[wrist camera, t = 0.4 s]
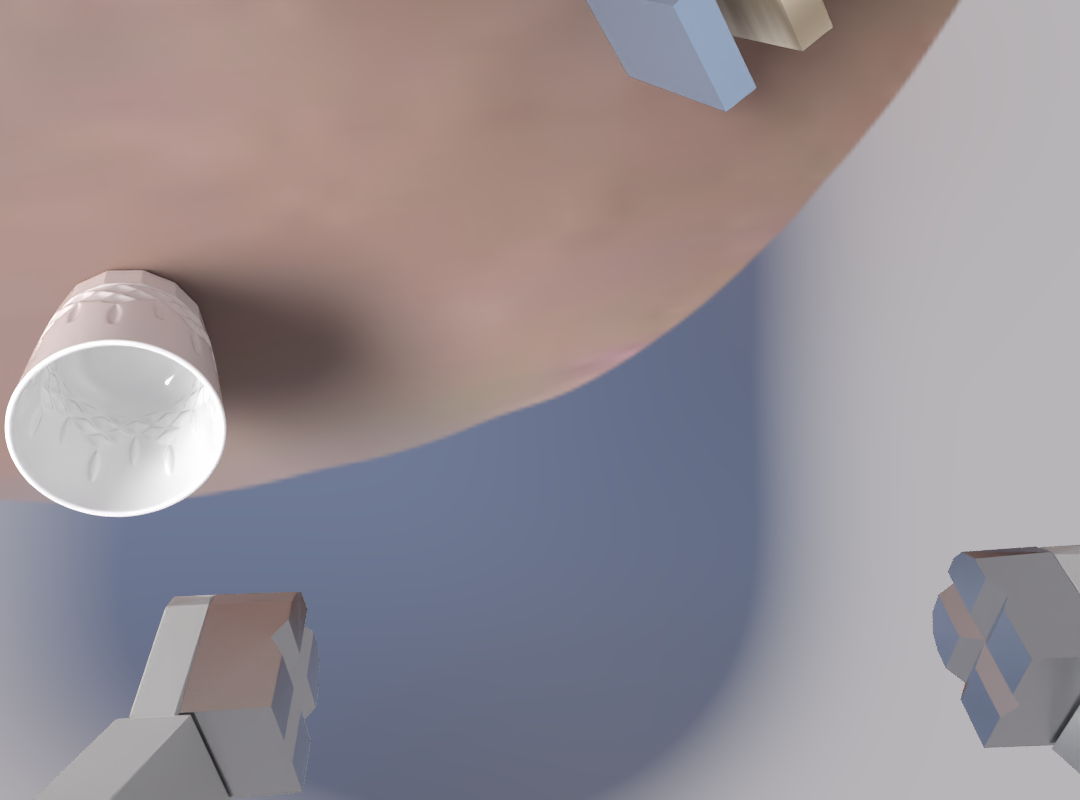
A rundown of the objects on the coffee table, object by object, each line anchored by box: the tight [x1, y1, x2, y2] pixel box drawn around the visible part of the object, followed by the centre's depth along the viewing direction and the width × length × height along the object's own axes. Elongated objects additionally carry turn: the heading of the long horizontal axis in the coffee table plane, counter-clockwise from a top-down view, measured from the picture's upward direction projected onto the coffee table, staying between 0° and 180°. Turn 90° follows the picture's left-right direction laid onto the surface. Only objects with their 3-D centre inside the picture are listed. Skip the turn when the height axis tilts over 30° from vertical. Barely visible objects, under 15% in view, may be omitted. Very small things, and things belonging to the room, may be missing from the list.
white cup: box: [5, 270, 227, 517], centre depth 39 cm, size 8×8×10 cm
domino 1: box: [586, 0, 757, 112], centre depth 40 cm, size 5×2×10 cm, turn 34°
